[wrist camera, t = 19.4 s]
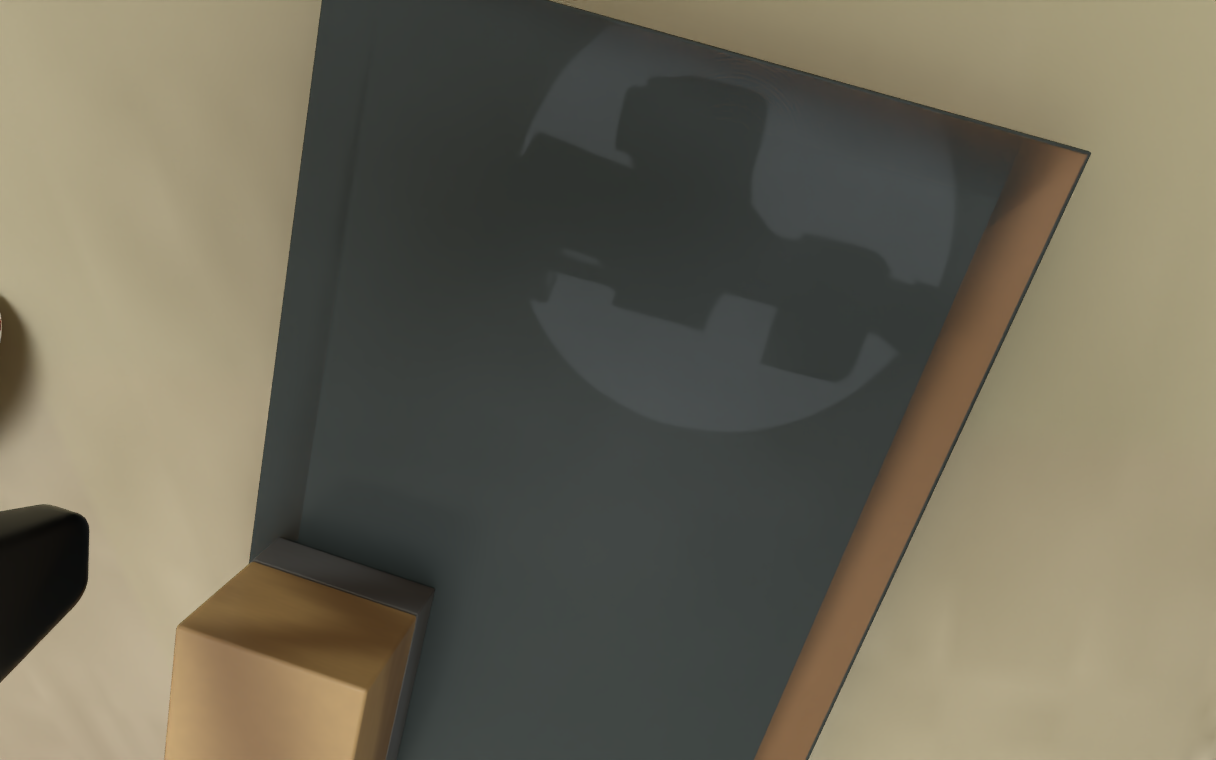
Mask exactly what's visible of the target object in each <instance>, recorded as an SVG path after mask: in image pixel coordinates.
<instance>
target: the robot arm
mask: <svg viewBox="0 0 1216 760" xmlns="http://www.w3.org/2000/svg"><path fill="white" fill-rule="evenodd" d="M88 560H89V525H88V523H87V521H86V519H85V517H83V516H82V515H80V514H78V513H75V512H72V511H69V510H66V509H63V508H60V507H57V506H53V505H46V504H42V505H35V506H29V507H24V508H18V509H12V510H6V511H0V682H1V681H2V680H3V679H4V678H5V677H6V676H7V675H8V674H9V673H10V672H11V671H12V670H13V669H14V668H15V667H16V666H17V665H18V664H19V663H20V662H21V661H22V660H23V659H24V658H25V657H26V656H27V655H28V654H29V652H30V651H31V650H32V649H33V648H34V647H35V646H36V645H37V644H38V643H39V642H40V641H41V640H42V639H43V638H44V637H45V636H46V635H47V634H48V633H49V632H50V631H51V630H52V629H53V628H54V627H55V626H56V625H57V624H58V623H59V621H60V620H61V619H62V618H63V617H64V616H65V615H66V614H67V613H68V612H69V611H70V610H71V609H72V608H73V607H74V606H75V605H76V603H77V602H78V601H79V599H80V598H81V596H82V595H83V593H84V591H85V589H86V585H87V582H88Z"/></svg>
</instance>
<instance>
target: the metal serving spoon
mask: <svg viewBox="0 0 1216 760" xmlns="http://www.w3.org/2000/svg"><path fill="white" fill-rule="evenodd" d="M1 333H2V321H1V314H0V341H1Z"/></svg>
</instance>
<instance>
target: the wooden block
mask: <svg viewBox="0 0 1216 760" xmlns="http://www.w3.org/2000/svg"><path fill="white" fill-rule="evenodd" d="M434 592H435V589H434V588H431V587H428V586H425V585H422V584H419V583H416V582H413V581H410V580H406V579H403V578H400V577H397V576H394V575H391V574H388V573H385V572H382V571H379V570H376V569H373V568H370V567H367V566H364V565H361V564H358V563H355V562H352V561H349V560H346V559H343V558H340V557H337V556H334V555H331V554H328V553H325V552H322V551H319V550H316V549H313V548H310V547H307V546H304V545H301V544H298V543H295V542H292V541H289V540H286V539H283V538H278V539H277V540H275V541H274V542H273V543H272V544H271V545H270V546H268V547H267V548H266V549H265V550H264V551H263V552H261V553H260V554H259V555H258V556H257V557H256V558H254V560H253V562H251V563H250V564H248V565H247V566H246V567H245V568H244V569H243V570H241V571H240V572H239V573H238V574H237V575H236V576H234V577H233V578H232V579H231V580H230V581H229V582H228V583H226V584H225V585H224V586H223V587H222V588H221V589H219V590H218V591H217V592H216V593H215V594H214V595H212V596H211V597H210V598H209V599H208V600H207V601H205V602H204V603H203V604H202V605H201V606H200V607H199V608H197V609H196V610H195V611H194V612H193V613H192V614H190V615H189V616H188V617H187V618H186V619H185V620H183V621H182V622H181V623H180V624H179V625H178V626H177V628H176V638H175V649H174V660H173V671H172V682H171V692H170V703H169V714H168V725H167V736H166V746H165V757H164V760H397V755H398V751H399V746H400V742H401V738H402V733H403V729H404V724H405V720H406V716H407V711H408V707H409V702H410V698H411V693H412V689H413V685H414V680H415V676H416V671H417V667H418V663H419V658H420V654H421V649H422V645H423V641H424V636H425V632H426V627H427V623H428V618H429V614H430V610H431V605H432V601H433V596H434Z"/></svg>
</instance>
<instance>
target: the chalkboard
mask: <svg viewBox="0 0 1216 760" xmlns="http://www.w3.org/2000/svg"><path fill="white" fill-rule="evenodd" d="M1090 155H1091V153H1090V152H1089V151H1086V150H1083V149H1079V148H1075V147H1072V146H1068V145H1065V144H1061V143H1058V142H1054V141H1050V140H1047V139H1043V138H1040V137H1036V136H1033V135H1029V134H1025V133H1022V132H1018V131H1015V130H1011V129H1007V128H1004V127H1000V126H997V125H993V124H990V123H986V122H982V121H979V120H975V119H972V118H968V117H965V116H961V115H957V114H954V113H950V112H947V111H943V110H939V109H936V108H932V107H929V106H925V105H922V104H918V103H914V102H911V101H907V100H904V99H900V98H897V97H893V96H889V95H886V94H882V93H879V92H875V91H871V90H868V89H864V88H861V87H857V86H854V85H850V84H846V83H843V82H839V81H836V80H832V79H829V78H825V77H821V76H818V75H814V74H811V73H807V72H803V71H800V70H796V69H793V68H789V67H786V66H782V65H778V64H775V63H771V62H768V61H764V60H761V59H757V58H753V57H750V56H746V55H743V54H739V53H735V52H732V51H728V50H725V49H721V48H718V47H714V46H710V45H707V44H703V43H700V42H696V41H693V40H689V39H685V38H682V37H678V36H675V35H671V34H667V33H664V32H660V31H657V30H653V29H650V28H646V27H642V26H639V25H635V24H632V23H628V22H625V21H621V20H617V19H614V18H610V17H607V16H603V15H599V14H596V13H592V12H589V11H585V10H582V9H578V8H574V7H571V6H567V5H564V4H560V3H557V2H553V1H549V0H322V4H321V12H320V20H319V27H318V35H317V43H316V51H315V58H314V66H313V74H312V81H311V89H310V97H309V105H308V112H307V120H306V128H305V135H304V143H303V151H302V159H301V166H300V174H299V182H298V189H297V197H296V205H295V213H294V220H293V228H292V236H291V243H290V251H289V259H288V267H287V274H286V282H285V290H284V298H283V305H282V313H281V321H280V328H279V336H278V344H277V352H276V359H275V367H274V375H273V382H272V390H271V398H270V406H269V413H268V421H267V429H266V436H265V444H264V452H263V460H262V467H261V475H260V483H259V491H258V498H257V506H256V514H255V521H254V529H253V537H252V545H251V552H250V560H249V564H250V563H251V562H253V560H254V558H256V557H257V556H258V555H259V554H260V553H261V552H263V551H264V550H265V549H266V548H267V547H268V546H270V545H271V544H272V543H273V542H274V541H275V540H277V539H278V538H283V539H286V540H289V541H292V542H295V543H298V544H301V545H304V546H307V547H310V548H313V549H316V550H319V551H322V552H325V553H328V554H331V555H334V556H337V557H340V558H343V559H346V560H349V561H352V562H355V563H358V564H361V565H364V566H367V567H370V568H373V569H376V570H379V571H382V572H385V573H388V574H391V575H394V576H397V577H400V578H403V579H406V580H410V581H413V582H416V583H419V584H422V585H425V586H428V587H431V588H434V589H435V592H434V596H433V601H432V605H431V610H430V614H429V618H428V623H427V627H426V632H425V636H424V641H423V645H422V649H421V654H420V658H419V663H418V667H417V671H416V676H415V680H414V685H413V689H412V693H411V698H410V702H409V707H408V711H407V716H406V720H405V724H404V729H403V733H402V738H401V742H400V746H399V751H398V755H397V760H808V759H809V757H810V755H811V752H812V750H813V748H814V746H815V744H816V742H817V740H818V737H819V735H820V733H821V731H822V729H823V727H824V725H825V722H826V720H827V718H828V716H829V714H830V712H831V710H832V707H833V705H834V703H835V701H836V699H837V697H838V695H839V692H840V690H841V688H842V686H843V684H844V682H845V680H846V677H847V675H848V673H849V671H850V669H851V667H852V665H853V662H854V660H855V658H856V656H857V654H858V652H859V650H860V647H861V645H862V643H863V641H864V639H865V637H866V635H867V632H868V630H869V628H870V626H871V624H872V622H873V620H874V617H875V615H876V613H877V611H878V609H879V607H880V605H881V602H882V600H883V598H884V596H885V594H886V592H887V590H888V587H889V585H890V583H891V581H892V579H893V577H894V575H895V572H896V570H897V568H898V566H899V564H900V562H901V560H902V557H903V555H904V553H905V551H906V549H907V547H908V545H909V542H910V540H911V538H912V536H913V534H914V532H915V530H916V527H917V525H918V523H919V521H920V519H921V517H922V515H923V512H924V510H925V508H926V506H927V504H928V502H929V500H930V498H931V495H932V493H933V491H934V489H935V487H936V485H937V483H938V480H939V478H940V476H941V474H942V472H943V470H944V468H945V465H946V463H947V461H948V459H949V457H950V455H951V453H952V450H953V448H954V446H955V444H956V442H957V440H958V438H959V435H960V433H961V431H962V429H963V427H964V425H965V423H966V420H967V418H968V416H969V414H970V412H971V410H972V408H973V405H974V403H975V401H976V399H977V397H978V395H979V393H980V390H981V388H982V386H983V384H984V382H985V380H986V378H987V375H988V373H989V371H990V369H991V367H992V365H993V363H994V360H995V358H996V356H997V354H998V352H999V350H1000V348H1001V345H1002V343H1003V341H1004V339H1005V337H1006V335H1007V333H1008V330H1009V328H1010V326H1011V324H1012V322H1013V320H1014V318H1015V315H1016V313H1017V311H1018V309H1019V307H1020V305H1021V303H1022V300H1023V298H1024V296H1025V294H1026V292H1027V290H1028V288H1029V285H1030V283H1031V281H1032V279H1033V277H1034V275H1035V273H1036V270H1037V268H1038V266H1039V264H1040V262H1041V260H1042V258H1043V255H1044V253H1045V251H1046V249H1047V247H1048V245H1049V243H1050V240H1051V238H1052V236H1053V234H1054V232H1055V230H1056V228H1057V225H1058V223H1059V221H1060V219H1061V217H1062V215H1063V213H1064V210H1065V208H1066V206H1067V204H1068V202H1069V200H1070V198H1071V195H1072V193H1073V191H1074V189H1075V187H1076V185H1077V183H1078V180H1079V178H1080V176H1081V174H1082V172H1083V170H1084V168H1085V165H1086V163H1087V161H1088V159H1089V157H1090Z"/></svg>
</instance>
